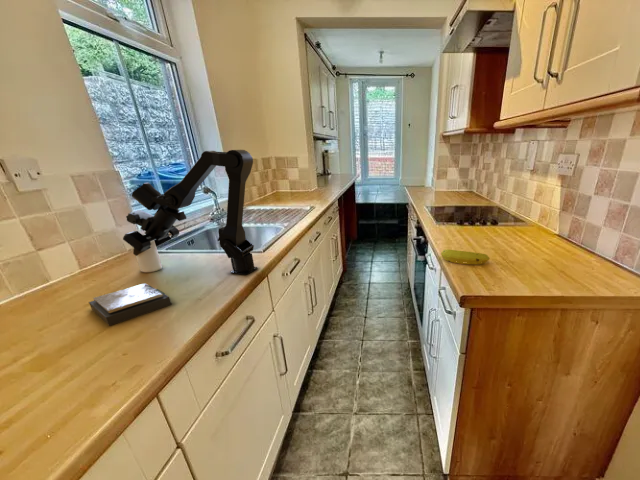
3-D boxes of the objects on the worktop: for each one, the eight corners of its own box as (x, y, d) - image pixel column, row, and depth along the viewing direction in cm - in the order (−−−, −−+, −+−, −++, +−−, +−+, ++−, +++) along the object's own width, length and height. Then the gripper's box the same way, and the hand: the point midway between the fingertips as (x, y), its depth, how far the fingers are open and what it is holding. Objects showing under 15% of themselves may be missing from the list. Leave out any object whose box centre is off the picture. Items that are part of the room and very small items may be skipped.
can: (154, 273, 109) (143, 239, 104) (136, 272, 110) (124, 239, 105) (166, 266, 115) (157, 234, 110) (149, 266, 115) (138, 234, 110)
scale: (153, 291, 95) (150, 284, 94) (173, 304, 88) (171, 296, 87) (92, 310, 85) (88, 302, 84) (109, 326, 77) (105, 317, 76)
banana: (494, 254, 112) (482, 248, 126) (446, 251, 112) (439, 245, 126) (492, 266, 113) (480, 259, 128) (444, 263, 113) (437, 256, 127)
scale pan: (145, 285, 93) (145, 283, 92) (163, 296, 86) (162, 293, 86) (94, 300, 84) (92, 297, 84) (109, 313, 77) (107, 310, 77)
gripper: (161, 197, 111) (141, 228, 116) (117, 207, 94) (96, 243, 99) (189, 220, 114) (168, 249, 119) (151, 234, 97) (129, 267, 102)
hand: (142, 251), depth 110 cm, fingers closed on can, 6 cm apart
